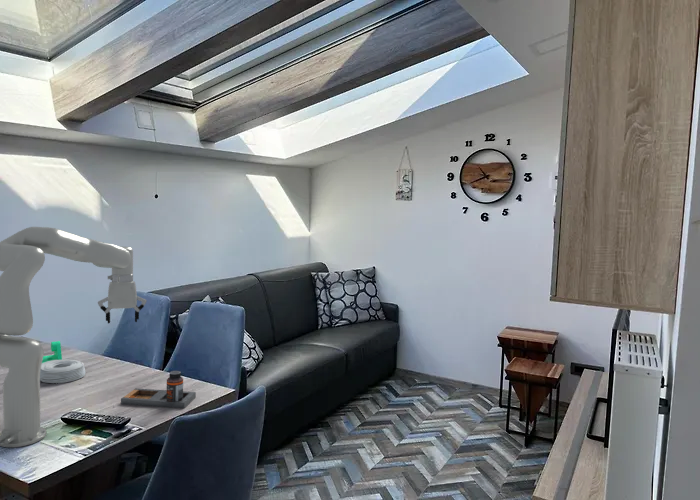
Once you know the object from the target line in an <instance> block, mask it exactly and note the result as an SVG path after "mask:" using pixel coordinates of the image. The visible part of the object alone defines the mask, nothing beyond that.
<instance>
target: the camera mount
mask: <svg viewBox="0 0 700 500" xmlns="http://www.w3.org/2000/svg"><path fill="white" fill-rule="evenodd" d="M50 351H51V352H54V353H53V354H50V355H43V360H42V363H44V362H47V361H52V360H63V356H62V355H63V353H62V345H61V341H60V340H58V341H56V340H55V341H50Z"/></svg>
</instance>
